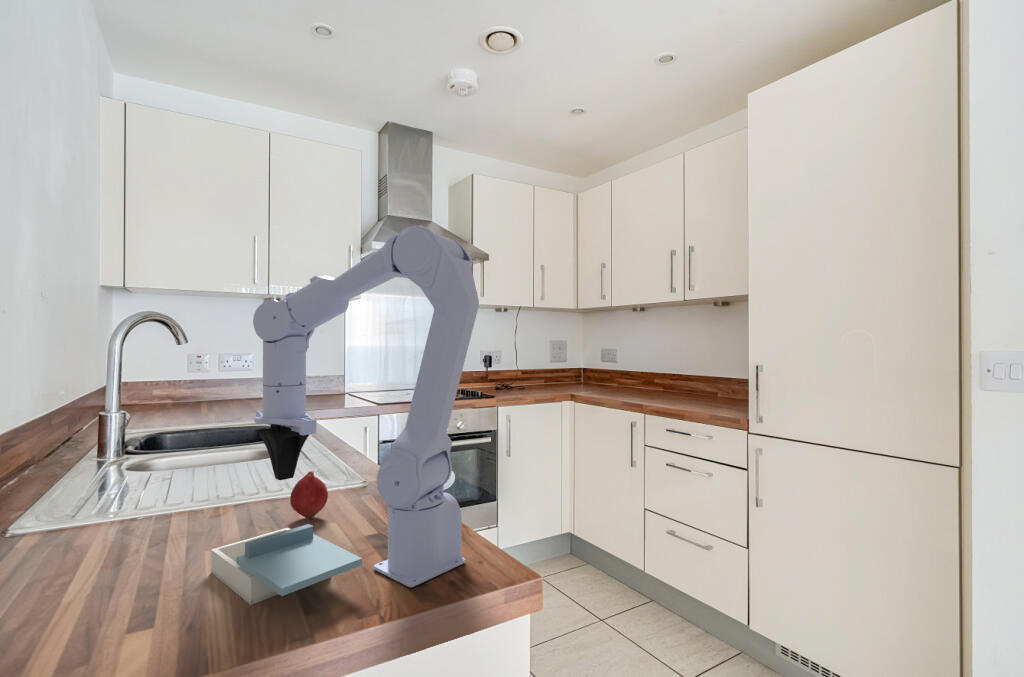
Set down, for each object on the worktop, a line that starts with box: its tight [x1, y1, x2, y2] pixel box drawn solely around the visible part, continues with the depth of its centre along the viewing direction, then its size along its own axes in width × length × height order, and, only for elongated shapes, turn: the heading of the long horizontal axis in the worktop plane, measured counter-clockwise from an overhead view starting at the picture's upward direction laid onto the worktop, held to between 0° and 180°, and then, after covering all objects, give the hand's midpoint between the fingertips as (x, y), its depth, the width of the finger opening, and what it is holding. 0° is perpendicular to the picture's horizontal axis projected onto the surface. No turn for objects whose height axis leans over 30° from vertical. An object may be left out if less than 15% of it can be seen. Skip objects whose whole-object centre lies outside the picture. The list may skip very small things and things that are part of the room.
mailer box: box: [210, 527, 291, 606], centre depth 65 cm, size 10×12×3 cm
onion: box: [289, 470, 329, 520], centre depth 85 cm, size 6×6×8 cm
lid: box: [237, 523, 363, 597], centre depth 60 cm, size 10×12×2 cm
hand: (284, 478), depth 73 cm, fingers closed
